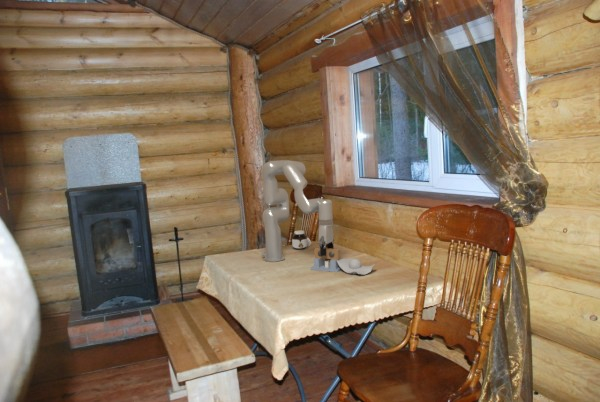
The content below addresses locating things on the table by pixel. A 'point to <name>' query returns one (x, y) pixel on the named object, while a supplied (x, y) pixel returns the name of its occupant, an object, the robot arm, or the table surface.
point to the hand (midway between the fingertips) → (327, 253)
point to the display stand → (326, 265)
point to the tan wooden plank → (328, 253)
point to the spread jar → (300, 240)
